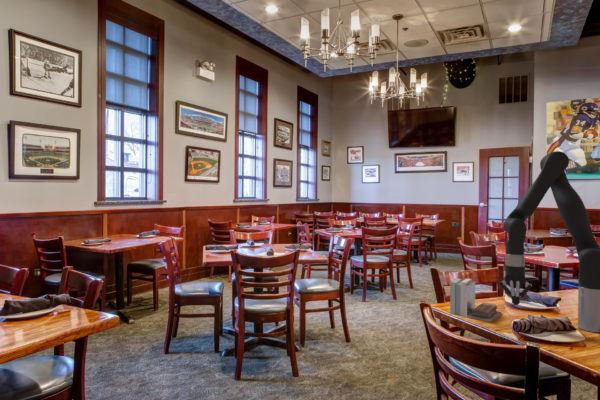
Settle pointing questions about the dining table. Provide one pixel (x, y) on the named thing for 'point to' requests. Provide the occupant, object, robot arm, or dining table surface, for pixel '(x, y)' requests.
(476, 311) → the packaged product
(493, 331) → the dining table surface
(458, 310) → the book row
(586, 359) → the dining table surface
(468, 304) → the bookend
